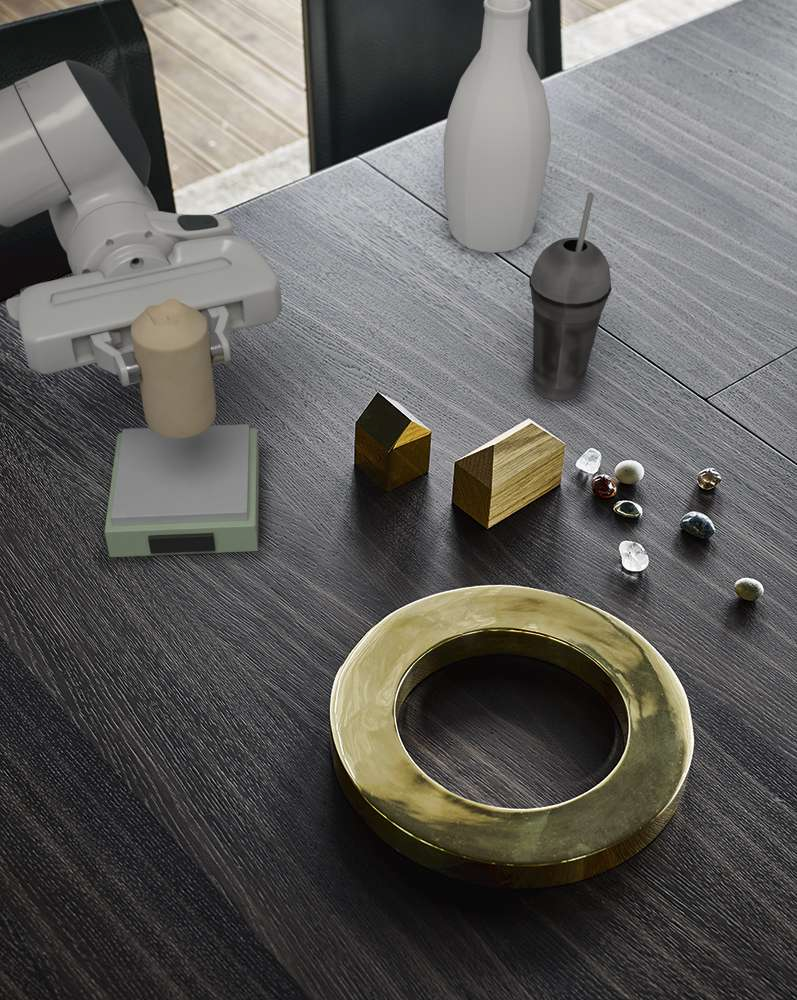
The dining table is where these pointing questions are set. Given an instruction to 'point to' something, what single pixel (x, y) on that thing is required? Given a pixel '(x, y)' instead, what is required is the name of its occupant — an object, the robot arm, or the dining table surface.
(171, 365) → the candle
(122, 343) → the robot arm
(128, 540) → the scale
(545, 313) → the beverage cup
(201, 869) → the dining table surface
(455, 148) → the bottle
